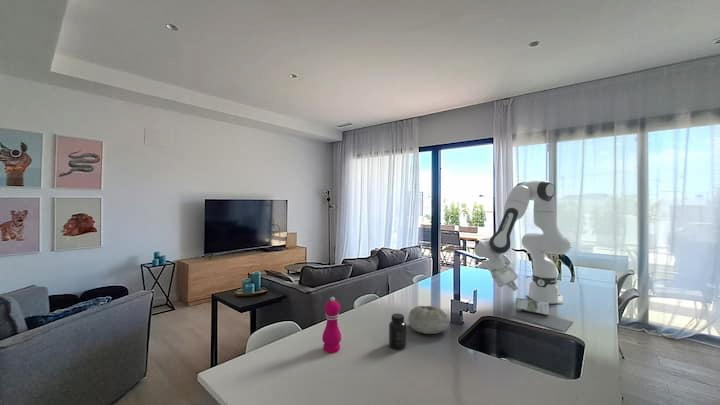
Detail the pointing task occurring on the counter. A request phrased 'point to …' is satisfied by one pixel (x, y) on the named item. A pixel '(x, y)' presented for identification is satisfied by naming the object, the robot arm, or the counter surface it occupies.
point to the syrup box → (532, 306)
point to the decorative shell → (428, 319)
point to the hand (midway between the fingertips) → (516, 290)
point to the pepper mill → (331, 327)
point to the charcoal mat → (543, 320)
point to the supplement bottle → (397, 332)
